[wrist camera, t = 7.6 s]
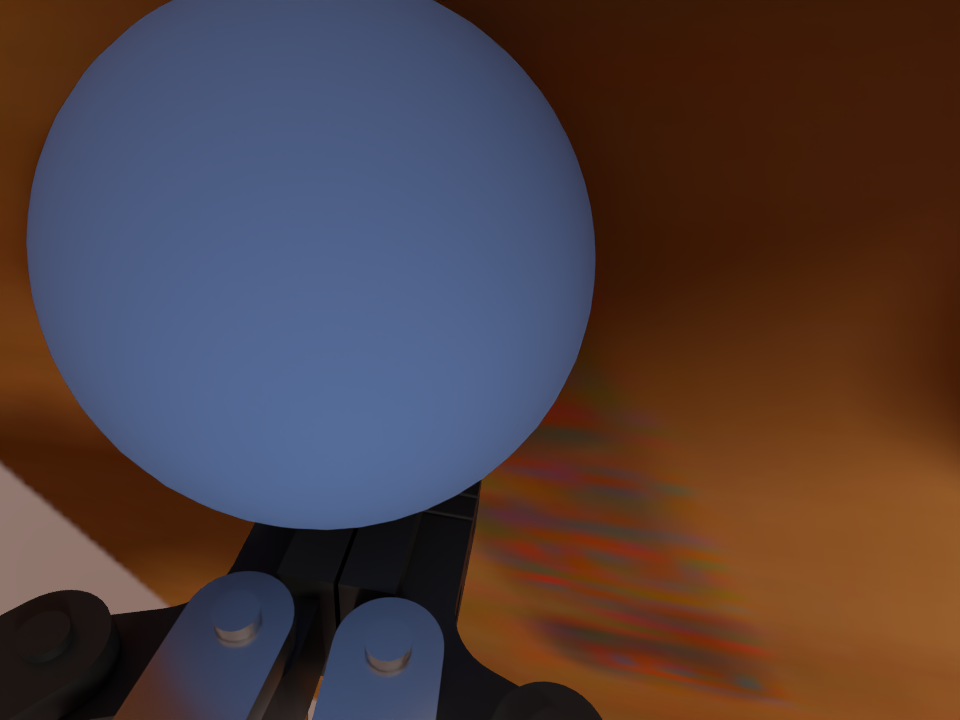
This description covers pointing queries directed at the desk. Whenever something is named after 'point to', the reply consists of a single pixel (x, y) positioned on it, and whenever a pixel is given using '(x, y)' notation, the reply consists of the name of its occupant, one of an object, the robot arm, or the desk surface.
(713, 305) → the desk surface
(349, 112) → the ball
